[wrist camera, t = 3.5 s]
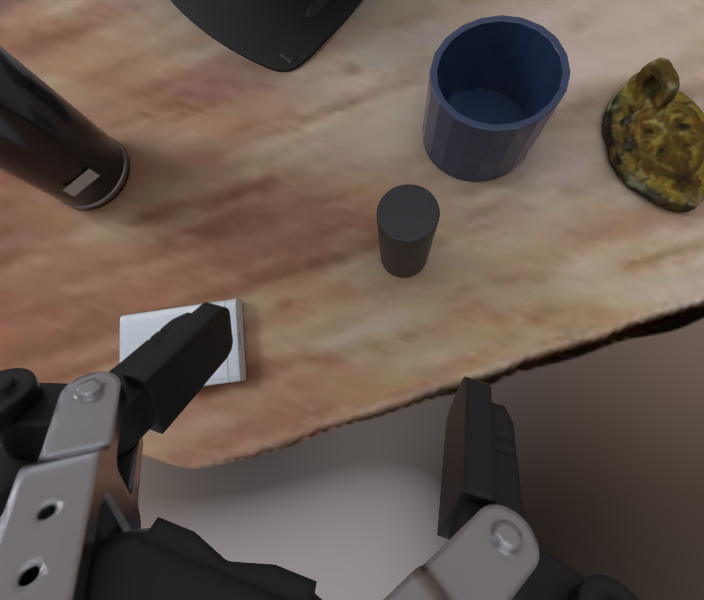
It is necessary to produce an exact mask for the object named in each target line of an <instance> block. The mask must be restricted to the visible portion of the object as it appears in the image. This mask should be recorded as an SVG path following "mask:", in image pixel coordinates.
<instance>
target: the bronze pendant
mask: <svg viewBox="0 0 704 600" xmlns="http://www.w3.org/2000/svg"><path fill="white" fill-rule="evenodd" d="M679 85H680V83H679V76H678V74H677V72H676V70H675V69H674V68H673V66H672V64H671V62H670V61H669V60H668V59H666V58H658V59H656V60H654V61H652V62H650V63H648V64H647V65H646V66H644V67H643V68H642V69H641V71H640V72H638V73H636V74H634V75H633V76H632V77H631V78H630V79H629V80H628V81H627V82H626V83H625V84H624V85H623V86H622V87H621V88H620V89H619V90H618V92H617V93H616V94H615V95H614V96H613V98H612V99H611V101H610V102H609V104H608V107H607V109H606V112H605V115H604V118H603V125H602V126H603V135H604V137H605V140H606V142H607V144H608V149H609V159H610V161H611V162H612V164H613V165H614V167H615V169H616V170H617V172H618V174H619V176H620V178H621V179H622V180H623V181H624V183H625V184H627V185H628V186H629V187H630V188H632V189H633V190H635V191H637V192H639V193H641V194H642V195H644V196H645V197H647V198H648V199H649V200H651V201H652V202H654V203H656V204H659V205H661V206H664V207H666V208H668V209H670V210H675V211H681V212H688V211H690V210H693V209H695V208H696V207H697V206H698V205H699V204H700V202H701V201H702V200H703V199H704V114H703V112H702V111H701V109H700V108H699V107H698V106H697V105H696V104H695V103H694V102H693V101H692V100H691V99H690V98H689V97H688V96H686V95H685V94H684V93H681V92H679V91H678V89H679Z"/></svg>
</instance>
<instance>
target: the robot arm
mask: <svg viewBox="0 0 704 600" xmlns="http://www.w3.org/2000/svg"><path fill="white" fill-rule="evenodd" d="M0 170H2V171H4V172H6V173H8V174H10V175H12V176H14V177H16V178H18V179H20V180H22V181H24V182H26V183H28V184H29V185H31V186H33V187H35V188H37V189H39V190H41V191H43V192H45V193H47V194H49V195H51V196H53V197H55V198H57V199H59V200H60V201H61V202H63V203H64V204H66V205H68V206H70V207H72V208H76V209H82V210H85V209H93V208H96V207H99V206H101V205H103V204H105V203H107V202H108V201H110V200H111V199H112V198H113V197H114V196H115V195H116V194H117V193H118V192H119V191H120V189H121V188H122V186H123V185H124V183H125V181H126V178H127V175H128V170H129V161H128V156H127V153H126V151H125V150H124V148H123V147H122V146H121V145H120V144H119V143H118V142H117V141H116V140H114V139H113V138H111V137H109V136H108V135H107V134H106V133H104V132H103V131H102V130H101V129H100V128H98V127H97V126H96V125H95V124H94V123H93V122H92V121H90V120H89V119H88V118H87V117H85V116H84V115H83V114H82V113H81V112H79V111H78V110H77V109H76V108H75V107H73V106H72V105H71V104H70V103H69V102H67V101H66V100H65V99H64V98H63V97H61V96H60V95H59V94H58V93H56V92H55V91H54V90H53V89H52V88H50V87H49V86H48V85H47V84H46V83H44V82H43V81H42V80H41V79H40V78H38V77H37V76H36V75H35V74H34V73H32V72H31V71H30V70H29V69H27V68H26V67H25V66H24V65H23V64H21V63H20V62H19V61H18V60H17V59H15V58H14V57H13V56H12V55H11V54H9V53H8V52H7V51H6V50H5V49H3V48H2V47H1V46H0ZM232 345H233V338H232V328H231V319H230V311H229V309H228V308H226V307H222V306H219V305H215V304H212V303H208V302H205V303H203V304H202V305H200V306H199V307H198V308H197V309H196V310H195V311H194V312H192V313H188V312H187V313H185V314H183V315H180V316H178V317H176V318H174V319H172V320H171V321H169V322H168V323H167V324H166V325H165V326H163V327H162V328H161V329H160V331H157V332H156V333H155V334H154V335H153V336H151V337H150V340H147V341H145V342H144V343H143V344H142V345H141V346H139V347H138V348H137V349H136V350H135V351H134V352H132V353H131V354H130V355H129V356H128V357H126V358H125V359H124V360H123V361H122V362H120V363H119V364H118V365H117V366H116V367H114V368H113V369H112V370H111V371H109V372H94V373H90V374H87V375H84V376H81V377H79V378H77V379H75V380H74V381H72V382H71V383H70V384H59V383H39V382H38V380H37V378H36V377H35V375H34V373H33V372H31V371H30V370H27V369H23V368H14V369H7V370H3V371H0V516H1V515H2V514H3V515H2V517H1V520H0V600H322V599H321V598H319V597H318V596H317V595H316V594H315V588H316V581H314V580H311V579H309V578H306V577H304V576H302V575H299V574H296V573H294V572H292V571H289V570H287V569H284V568H282V567H279V566H277V565H271V564H256V563H241V562H230V561H227V560H226V559H224V558H223V557H222V556H221V555H220V554H219V553H217V552H216V551H215V550H214V549H213V548H212V547H211V546H210V545H208V544H207V543H206V542H205V541H204V540H203V539H202V538H201V537H200V536H199V535H197V534H196V533H195V532H193V531H191V530H189V529H186V528H184V527H181V526H179V525H176V524H174V523H171V522H169V521H166V520H164V519H162V518H159V517H158V518H157V519H156V521H155V522H154V524H153V525H152V527H151V528H150V529H149V528H147V529H141V523H140V514H139V508H138V493H139V482H140V471H141V460H142V449H143V439H142V437H143V436H144V434H145V433H146V432H147V431H148V430H149V429H150V430H153V431H156V432H159V433H161V434H163V433H164V432H165V431H166V430H167V428H168V427H169V426H170V425H171V424H172V422H173V421H174V420H175V419H176V418H177V417H178V415H179V414H180V413H181V412H182V411H183V409H184V408H185V407H186V406H187V405H188V404H189V402H190V401H191V400H192V399H193V398H194V396H195V395H196V394H197V393H198V392H199V391H200V389H201V388H202V387H203V386H204V385H205V383H206V382H207V381H208V380H209V379H210V378H211V376H212V375H213V374H214V373H215V372H216V370H217V369H218V368H219V367H220V366H221V365H222V363H223V362H224V361H225V360H226V359H227V357H228V356H229V354H230V352H231V349H232ZM514 440H515V436H514V427H513V422H512V420H511V418H510V416H509V414H508V412H507V410H506V409H505V407H504V406H502V405H498V404H495V403H492V400H491V386H490V384H489V383H486V382H482V381H479V380H475V379H472V378H468V377H464V378H463V380H462V382H461V384H460V386H459V389H458V391H457V393H456V396H455V398H454V400H453V403H452V405H451V407H450V410H449V413H448V417H447V422H446V430H445V443H444V456H443V469H442V483H441V495H440V509H439V521H438V534H437V535H439V536H441V537H444V538H447V539H449V541H448V542H447V543H446V544H445V545H444V546H443V547H442V548H441V549H440V550H439V551H438V552H437V553H436V554H434V555H433V556H432V557H431V558H430V559H429V560H428V561H427V562H426V563H425V564H424V565H422V566H419V567H418V568H416V569H415V570H414V571H413V572H412V573H411V574H410V575H409V576H407V577H406V578H405V579H404V580H403V581H402V582H401V583H400V584H399V585H398V586H397V587H396V588H395V589H394V590H393V591H392V592H391V593H390V594H389V595H388V596H387V597H386V598H385V599H384V600H639V599H638V598H637V597H636V596H635V595H634V594H633V593H632V592H631V591H630V590H629V589H627V587H625V586H624V585H623V584H621V583H620V582H618V581H617V580H615V579H613V578H611V577H608V576H604V575H592V576H589V577H588V578H585V577H583V576H582V575H580V574H579V573H577V572H576V571H574V570H573V569H572V568H570V567H569V566H567V565H566V564H564V563H563V562H562V561H560V560H559V559H557V558H556V557H554V556H553V555H552V554H550V553H549V552H548V551H547V550H546V549H545V548H544V547H543V546H542V545H541V544H540V543H539V542H538V541H537V540H536V537H535V535H534V533H533V531H532V529H531V528H530V527H529V525H528V524H527V522H526V521H525V517H524V514H523V508H522V499H521V490H520V481H519V472H518V463H517V457H516V446H515V442H514Z"/></svg>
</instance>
